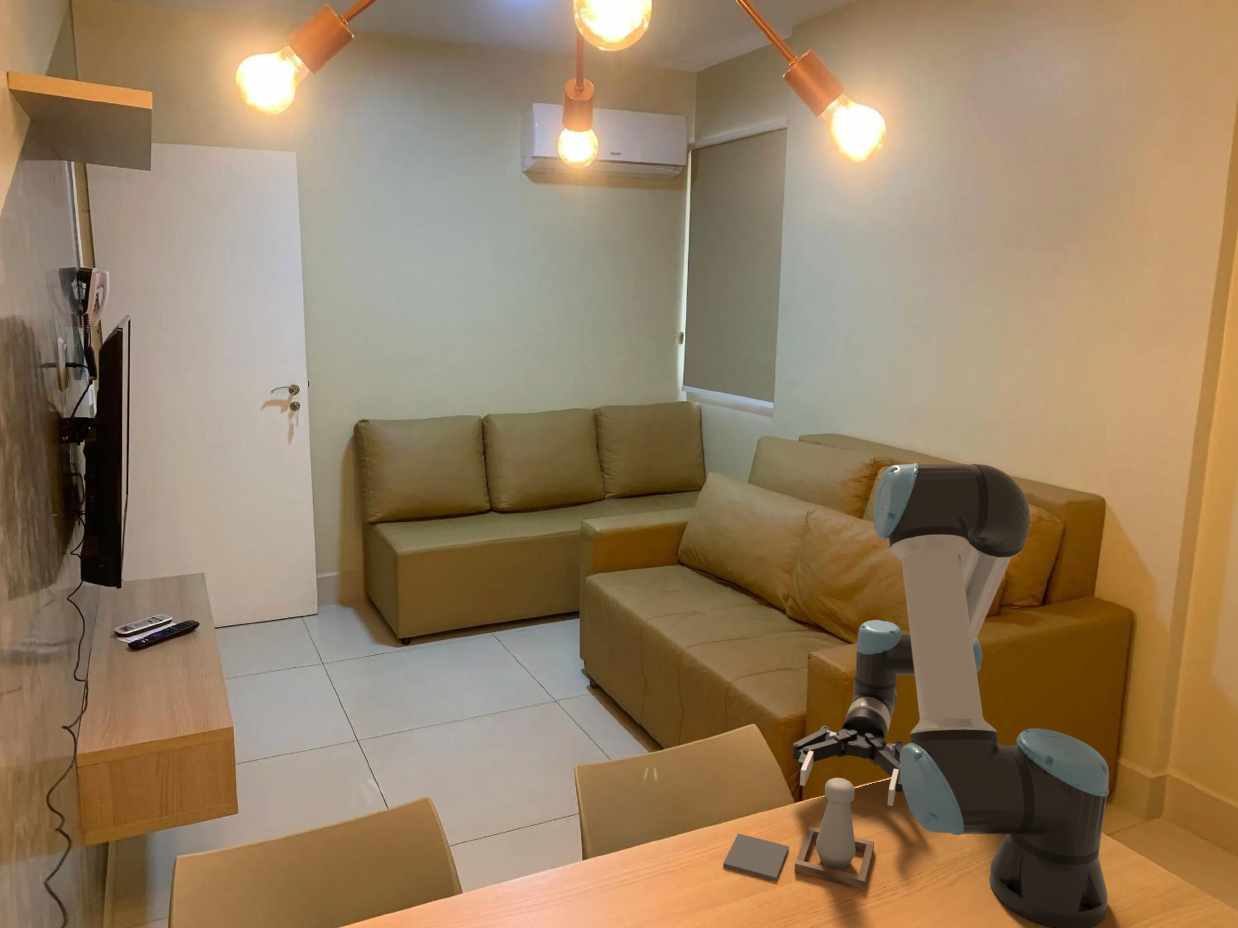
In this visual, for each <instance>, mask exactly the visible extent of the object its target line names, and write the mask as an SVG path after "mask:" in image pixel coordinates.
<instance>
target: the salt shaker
mask: <svg viewBox="0 0 1238 928" xmlns="http://www.w3.org/2000/svg"><path fill="white" fill-rule="evenodd" d="M855 793H856V792H855V786H854V785H853V783H852V782H851V781H849V780H848V779H846V778H841V777H834V778H830V779H829V780H827V782H825V786H824V796H825V797H826V799H827V803H826V808H825V810H824V814H823V817H822V820H821V825H820V828H819V829H820V831H819V834H818V838H817V841H816V840H815V841H816V844H815V845H816V846H815V847H816V852H817V855H818V858H819V860H820V862H821V863H822V864H824V866H825V867H828V868H832V869H835V870H839V871H842V870H844V869H845V868H847V867H849V866H850V864H851V863H852V861H853V859H854V857H855V856H856V854H857V853H856V852H857V850H856V849H855V841H854V837H855V833H854V826H853V815H852V808H851V807H852V806H851V803H852V802H853V800H854V799H855Z"/></svg>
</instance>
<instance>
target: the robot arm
mask: <svg viewBox="0 0 1238 928" xmlns="http://www.w3.org/2000/svg"><path fill="white" fill-rule="evenodd" d="M1031 522H1032V521H1031V512H1030V506H1029V503H1028V500H1027V497H1026V496H1025V494H1024V492H1023V489H1021V487H1020V486H1019V484H1018V483H1017V482H1016V481H1015V480H1014V479H1013V477H1011V476H1010V475H1008V474H1007V473H1005V472H1004V471H1003V470H1001V469H999V468H996V467H994V466H991V465H987V464H982V463H980V464H979V463H976V464H975V463H973V464H947V463H946V464H944V463H942V464H941V463H939V464H938V463H936V464H935V463H918V462H914V463H913V462H912V463H908V464H907V463H906V464H894V465H893V464H892V465H891V466H889V467H888V468H886V470H885V471H883V473H882V474H881V477H880V480H879V483H878V486H877V490H876V494H875V498H874V507H873V525H874V529H875V533H876V536H878V537H879V538H881V539H882V540H887V539H888V543H889V549H890V553H891V554H892V555H893V556H895V557H896V558H897V559H899V560H900V562H901V566H902V573H903V574H902V575H903V584H904V592H905V601H906V609H907V610H906V611H907V618H908V619H907V620H908V627H909V633H901V629H900V627H899V626H898V625H897V624H895V623H894V622H890V621H886V620H879V619H872V620H867V621H865V622H863V623H862V624H861V625H860V626H859V628H858V633H857V642H856V646H855V649H856V651H855V652H856V653H855V672H854V673H855V674H854V679H853V680H854V681H853V682H854V683H853V695H852V700H851V704H850V706H849V709H848V710H847V714H846V715H845V719H844V721H843V724H842V727H841V730H838V731H837V732H835V731H831V730H830V727H829V726H828V725H821V727H820V728H819V730H818V731H815V732H814V733H811V734H809V735H807V736H806V737H803V738H801V739H799V740H798V741H796V742H794V743H793V744H792V759H794V760H798V763H797V764H798V767H797V769H798V771H799V770H800V778H799V786H802V787H806V783H807V782H808V779H809V776H810V774H811V771H812V769H813V765H814V764H813V763H815V762H819V761H822V760H826V759H828V758H832V757H838V758H841V757H844V756H851V757H858V758H861V759H864V760H867V759H868V760H869V761H870V762H872V764H874V765H875V766H879V767H880V768H881V769H882V770H883V771H884V772H885V773H886V774H887V775H889V776H890V777H891V779H890V781H889V787H888V793H887V795H888V796H887V806H889V807H893V805H894V801H895V798H896V794H897V793H904V797H905V799H906V803H907V806H908V807H909V810H910V812H911V814H912V815H913V818H914V819H915V820H916V822H917V823H918V824H919V825H920V826H921V827H922V828H923V829H924V830H926V831H928V832H931V833H937V834H938V833H939V834H951V835H953V836H955V835H957V836H961V835H1005V836H1004V838H1003V839H1002V842H1001V843H1000V845H999V847H998V848H997V851H996V852H995V854H994V855H993V858H992V860H991V863H990V870H989V885H990V887H991V889H992V892H993V893H994V894H995V896H996V897H997V898H998V899H999V900H1000V901H1001V902H1002V903H1003V904H1004V905H1005V906H1006V907H1007V908H1009V909H1010V910H1012V911H1013V912H1015V913H1016V914H1017V915H1020V916H1021V917H1022V918H1025V919H1027V920H1030V921H1032V922H1034V923H1037V924H1039V925H1043V926H1047V927H1050V928H1091V927H1095V926H1096V925H1098V924H1099V923H1100V922H1102V921H1103V920H1104V918H1105V915H1106V914H1107V913H1106V912H1107V906H1108V890H1107V886H1106V882H1105V877H1104V873H1103V870H1102V866H1101V862H1100V857H1099V855H1100V846H1101V839H1102V834H1103V825H1104V818H1105V811H1106V803H1107V797H1108V796H1109V793H1110V790H1109V781H1110V780H1109V779H1110V778H1109V777H1110V776H1109V775H1110V774H1109V773H1110V772H1109V769H1110V768H1109V767H1108V762H1107V761H1106V760H1105V758H1104V757H1103V756H1102V755H1101V754H1100V753H1099V752H1098V751H1097V750H1096V749H1095V748H1094V747H1093V746H1091V745H1089V744H1087V743H1085V742H1083V741H1082V740H1080V739H1078V738H1076V737H1074V736H1071V735H1068V734H1065V733H1063V732H1058V731H1055V730H1051V729H1045V728H1034V727H1033V728H1028V729H1025V730H1023V731H1022V732H1019V734H1018V736H1017V737H1016V744H1015V745H1001V744H999V739H998V733H997V730H996V729H995V728H994V726H992V725H991V724H989V723H988V722H987V721H986V720H985V718H984V716H983V709H982V701H981V700H982V699H981V693H980V686H979V680H978V672H979V671H980V670H981V668H982V667H981V666H982V661H983V652H982V645H981V643H980V641H979V639H978V636H979V633H980V631H981V629H982V626H983V624H984V622H985V619H986V617H987V614H988V612H989V611H990V608H991V605H992V603H993V601H994V598H995V597H996V595H997V592H998V589H999V587H1000V585H1001V583H1002V580H1003V578H1004V575H1005V574H1006V571H1007V568H1008V566H1009V564H1010V562H1011V560H1012V558H1014V557H1016V556H1018V555H1019V554H1020V553H1021V552H1022V551H1023V549H1024V547H1025V545H1026V542H1027V539H1028V537H1029V534H1030V529H1031ZM898 676H914V679H915V688H916V695H917V706H918V715H919V719H918V723H917V724H916V725H915V726H914V727H913V729H912V730H911V731H910V742H909V743H907V744H906V745H904V743H903V741H901V740H895V743H887V741H886V740H887V736H888V733H889V730H890V729H889V728H890V725H891V722H892V721H891V720H892V717H893V713H894V711H895V709H896V707H897V702H898V701H897V699H898V698H897V696H898V694H897V690H896V689H897V679H898ZM896 792H897V793H896Z"/></svg>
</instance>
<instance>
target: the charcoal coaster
mask: <svg viewBox="0 0 1238 928" xmlns="http://www.w3.org/2000/svg"><path fill="white" fill-rule="evenodd" d="M789 850H790V846H789V845H786V844H781V843H778V842H774V841H769V840H766V839H762V838H757V837H753V836H751V835H747V834H742V833H737V834H736V837H735V839H734V840H733V843H732V845H731V847H730V849H729V850H728V853H727V855H726V856H725V858H724V861H723V868H727V869H730V870H734V871H738V872H742V873H745V874H749V875H752V876H756V877H760V878H763V879H766V880H769V881H770V880H771V881H774V882H777V880H778V877H779V875H780V874H781V871H782V868H783V865H784V864H785V863H784V862H785V860H786V858H787V854H788V853H789Z"/></svg>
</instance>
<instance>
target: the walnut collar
mask: <svg viewBox="0 0 1238 928" xmlns="http://www.w3.org/2000/svg"><path fill="white" fill-rule="evenodd" d="M819 831H820V828H818V827H814V826H810V825H809V826H808V827H807V830H806V833H805V835H804V838H803V841H802V844H801V846H800V849H799V851H798V855H797V856H796V857H797V858H796V860H795V862H794V873H795V874H799V875H803V876H806V877H811V878H814V879H819V880H821V881H825V882H830V883H833V884H836V885H841V886H845V887H849V888H852V889H856V890H859V891H865V889H866V884H867V879H868V875H869V872H870V867H871V863H872V860H873V854H874V851H875V841H872V840H868V839H864V838H860V837H855V836H854V841H855V849H856V852H857V851H858V852H861V853H863V858H862V861H861V865H860V869H859V872H858V874H854V873H850V872H847V871H842V870H837V869H832V868H828V867H827V866H825V865H819V864H815V863H811V862H808V861H807V859H808V856H809V853H810V851H811V848H812V846H813V842H814V841H817V838H818V834H819Z"/></svg>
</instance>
